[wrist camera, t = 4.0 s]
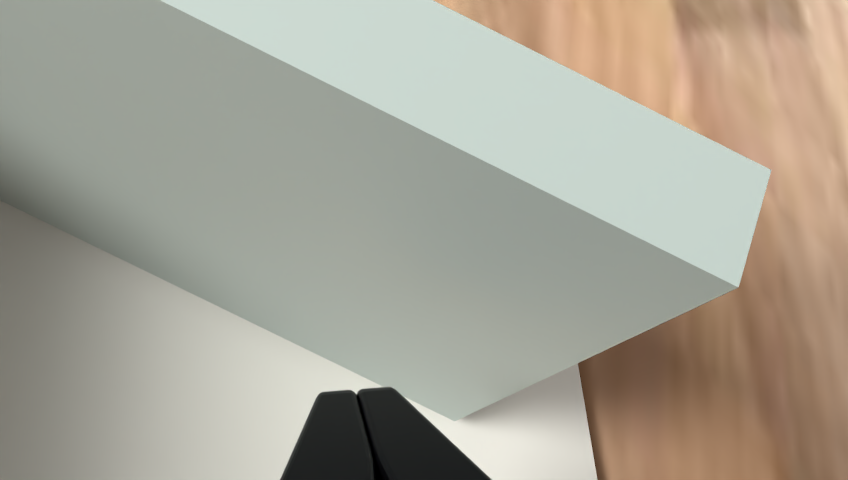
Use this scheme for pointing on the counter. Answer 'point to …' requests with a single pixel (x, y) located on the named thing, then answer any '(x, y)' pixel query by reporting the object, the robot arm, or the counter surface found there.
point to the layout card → (199, 381)
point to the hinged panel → (370, 182)
